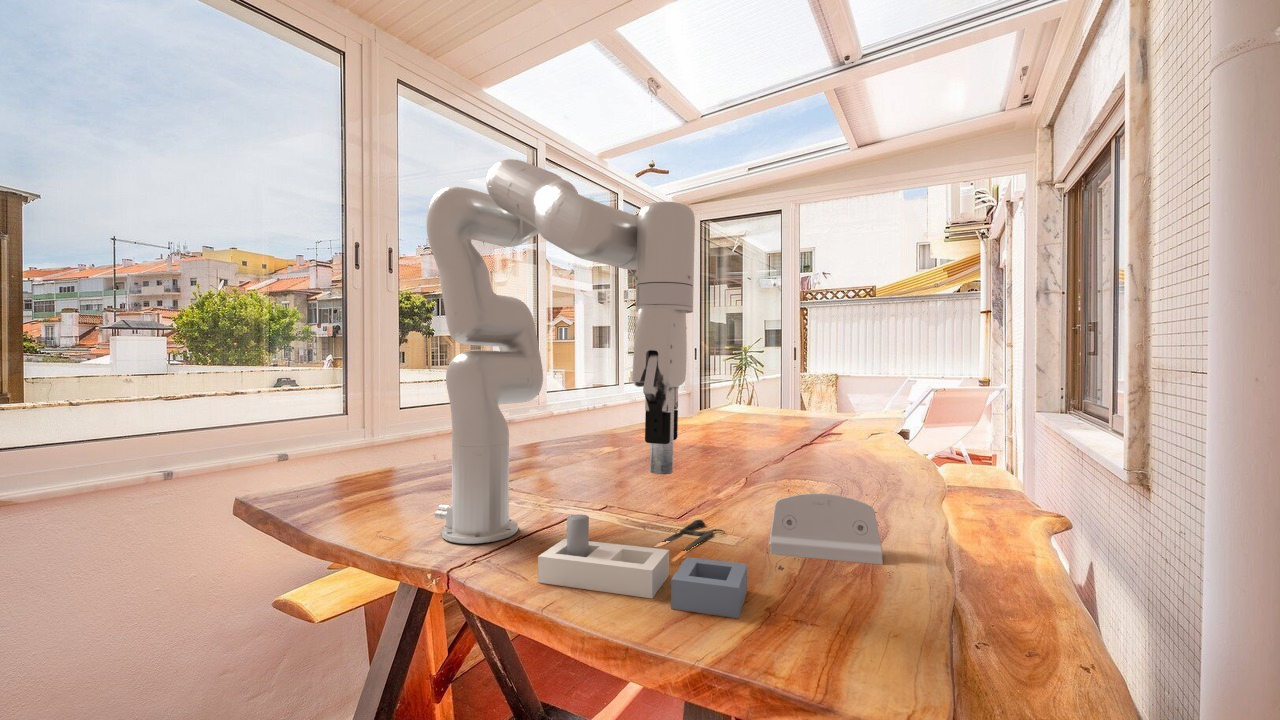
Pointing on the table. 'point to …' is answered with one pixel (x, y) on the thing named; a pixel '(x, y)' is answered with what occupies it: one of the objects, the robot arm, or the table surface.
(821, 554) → the grey wall bracket
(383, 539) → the table surface
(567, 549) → the rack
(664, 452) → the grey peg
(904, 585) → the table surface
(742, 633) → the table surface
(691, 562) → the socket block
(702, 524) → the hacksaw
